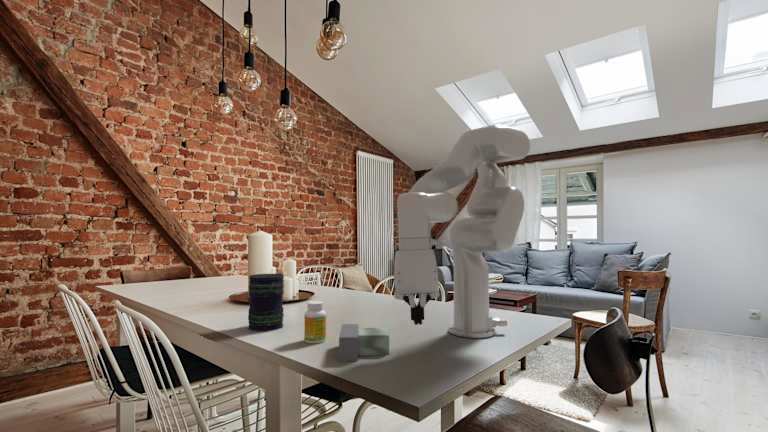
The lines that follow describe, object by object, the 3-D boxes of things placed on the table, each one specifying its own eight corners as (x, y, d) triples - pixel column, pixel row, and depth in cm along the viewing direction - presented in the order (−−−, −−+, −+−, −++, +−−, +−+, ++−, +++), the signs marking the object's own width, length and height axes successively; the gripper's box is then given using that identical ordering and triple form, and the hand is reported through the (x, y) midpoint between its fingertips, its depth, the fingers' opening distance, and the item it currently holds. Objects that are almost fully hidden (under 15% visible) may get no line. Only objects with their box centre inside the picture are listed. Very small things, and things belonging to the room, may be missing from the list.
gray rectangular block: (358, 344, 96) (358, 324, 96) (357, 360, 84) (357, 337, 84) (341, 344, 95) (342, 324, 96) (339, 361, 83) (339, 337, 84)
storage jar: (290, 326, 114) (290, 275, 114) (260, 333, 106) (261, 278, 107) (270, 321, 120) (271, 273, 121) (241, 327, 113) (242, 275, 113)
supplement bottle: (315, 345, 95) (316, 305, 96) (299, 341, 98) (300, 302, 98) (330, 339, 100) (330, 301, 100) (314, 336, 103) (314, 299, 103)
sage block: (388, 346, 95) (388, 327, 95) (389, 355, 88) (389, 335, 88) (359, 346, 95) (359, 327, 95) (358, 355, 88) (358, 335, 88)
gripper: (443, 242, 96) (445, 317, 96) (382, 245, 95) (385, 320, 95) (449, 244, 88) (452, 325, 88) (384, 247, 87) (387, 329, 87)
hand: (417, 322), depth 91 cm, fingers closed
